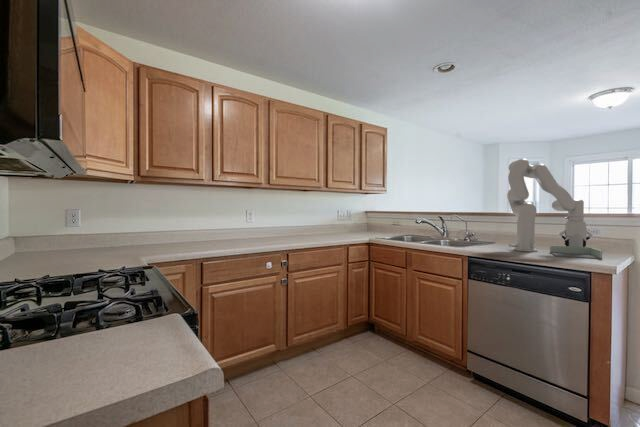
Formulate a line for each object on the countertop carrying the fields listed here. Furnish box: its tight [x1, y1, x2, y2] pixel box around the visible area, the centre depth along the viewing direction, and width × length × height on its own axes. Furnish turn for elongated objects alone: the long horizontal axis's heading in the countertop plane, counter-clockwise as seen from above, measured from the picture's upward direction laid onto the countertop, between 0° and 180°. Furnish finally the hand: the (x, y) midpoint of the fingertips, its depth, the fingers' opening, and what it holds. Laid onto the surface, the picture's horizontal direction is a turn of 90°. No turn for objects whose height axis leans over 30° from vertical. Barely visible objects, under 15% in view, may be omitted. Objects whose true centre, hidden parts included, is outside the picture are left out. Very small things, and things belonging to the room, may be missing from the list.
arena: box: [549, 245, 603, 260], centre depth 173 cm, size 20×16×5 cm
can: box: [568, 234, 583, 247], centre depth 188 cm, size 8×8×12 cm
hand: (575, 246), depth 189 cm, fingers closed on can, 7 cm apart
